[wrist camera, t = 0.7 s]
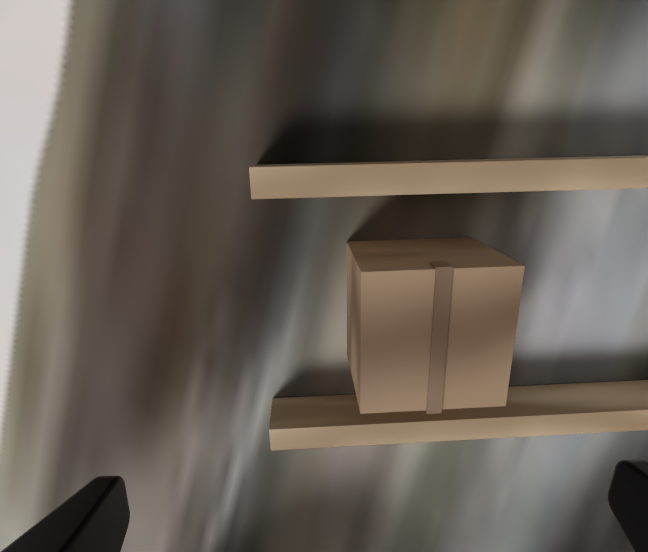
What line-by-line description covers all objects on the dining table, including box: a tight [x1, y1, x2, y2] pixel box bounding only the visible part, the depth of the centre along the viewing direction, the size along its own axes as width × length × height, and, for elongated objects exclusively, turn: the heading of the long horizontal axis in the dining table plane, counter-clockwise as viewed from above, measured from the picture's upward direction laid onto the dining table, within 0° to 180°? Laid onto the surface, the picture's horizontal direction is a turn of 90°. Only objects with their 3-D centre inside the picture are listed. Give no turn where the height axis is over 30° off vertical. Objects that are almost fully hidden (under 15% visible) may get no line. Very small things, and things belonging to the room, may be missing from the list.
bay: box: [249, 155, 648, 450], centre depth 19 cm, size 13×22×3 cm, turn 91°
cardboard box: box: [347, 237, 525, 414], centre depth 18 cm, size 6×6×5 cm
